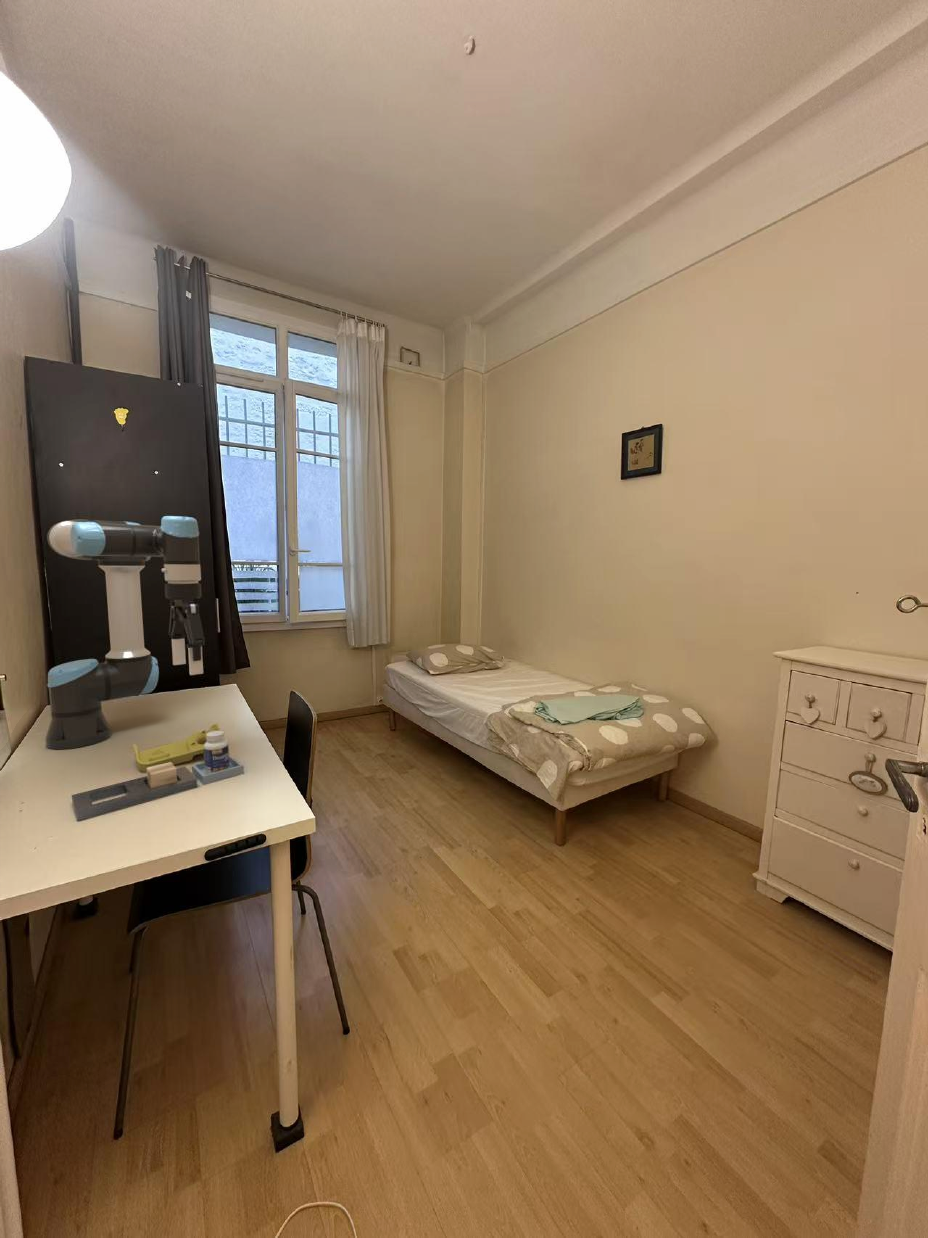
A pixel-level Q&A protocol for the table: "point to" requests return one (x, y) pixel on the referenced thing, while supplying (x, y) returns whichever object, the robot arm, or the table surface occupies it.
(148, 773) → the beech block
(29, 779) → the table surface
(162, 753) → the plastic component
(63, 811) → the table surface
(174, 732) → the table surface
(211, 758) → the pill bottle
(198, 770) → the tray
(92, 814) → the rail
